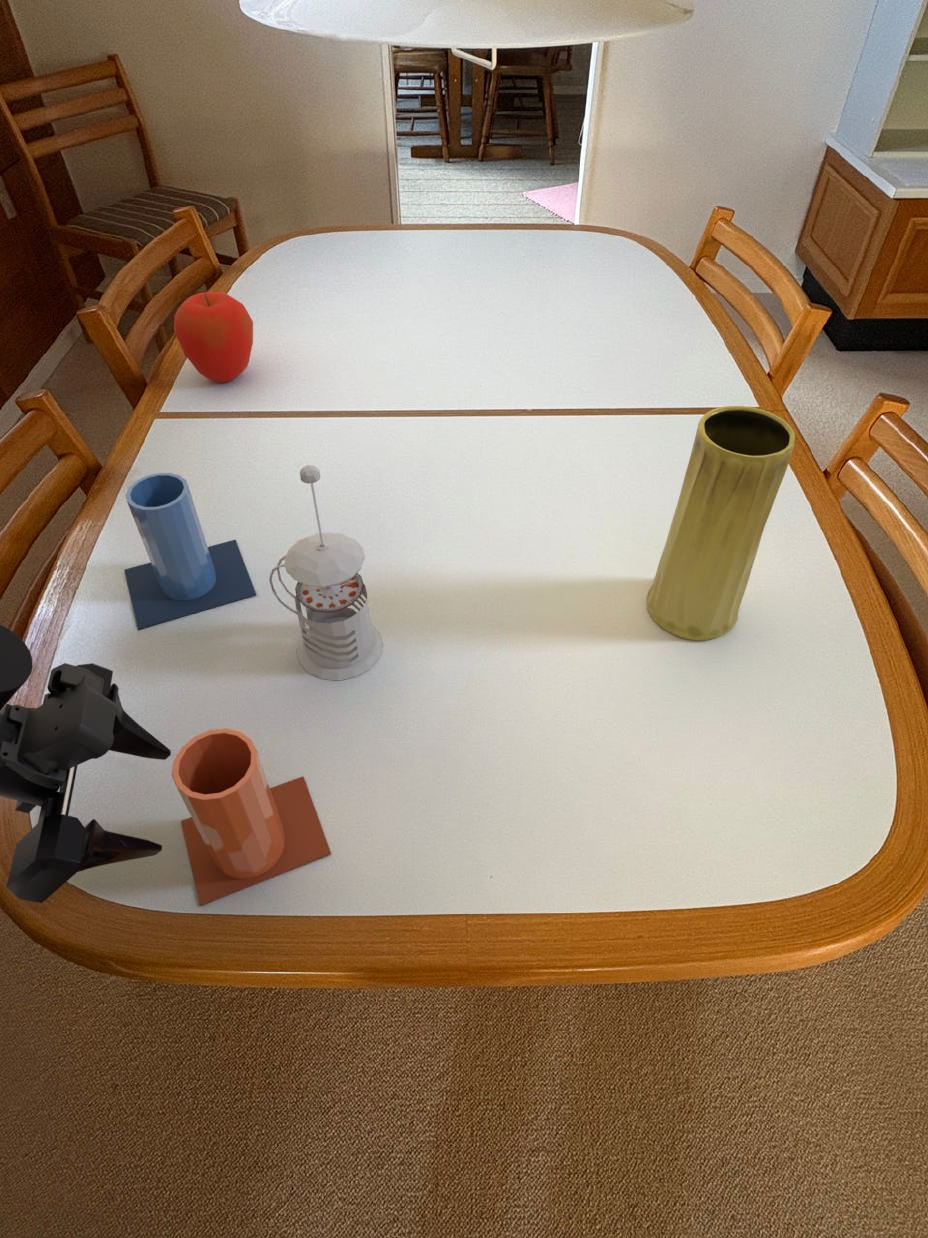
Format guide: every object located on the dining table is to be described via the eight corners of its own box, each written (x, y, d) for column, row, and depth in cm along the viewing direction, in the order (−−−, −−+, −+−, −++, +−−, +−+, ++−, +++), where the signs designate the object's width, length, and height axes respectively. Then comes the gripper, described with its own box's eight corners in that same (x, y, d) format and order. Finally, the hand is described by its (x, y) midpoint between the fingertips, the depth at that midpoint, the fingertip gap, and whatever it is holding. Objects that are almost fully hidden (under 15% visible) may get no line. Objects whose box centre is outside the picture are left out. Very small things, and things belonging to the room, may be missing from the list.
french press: (362, 690, 86) (335, 510, 67) (266, 664, 88) (215, 484, 70) (395, 627, 92) (379, 447, 74) (306, 604, 94) (268, 425, 76)
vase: (755, 614, 93) (827, 436, 75) (695, 656, 89) (755, 477, 71) (687, 565, 99) (738, 388, 81) (627, 602, 95) (667, 424, 76)
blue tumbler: (166, 607, 94) (130, 516, 84) (157, 572, 98) (121, 481, 88) (221, 591, 96) (193, 500, 85) (210, 557, 100) (181, 466, 89)
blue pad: (138, 630, 92) (137, 628, 91) (124, 570, 98) (124, 569, 98) (256, 595, 95) (256, 594, 95) (235, 540, 102) (235, 539, 102)
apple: (270, 387, 128) (253, 302, 118) (195, 402, 125) (172, 316, 115) (253, 351, 136) (236, 269, 125) (183, 365, 133) (160, 282, 122)
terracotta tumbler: (200, 869, 71) (156, 788, 61) (232, 806, 76) (196, 721, 65) (267, 887, 70) (234, 807, 60) (296, 822, 75) (270, 737, 64)
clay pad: (200, 906, 69) (200, 905, 69) (181, 821, 75) (181, 820, 75) (331, 854, 73) (331, 853, 72) (303, 777, 78) (303, 776, 78)
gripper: (-14, 807, 48) (213, 861, 57) (43, 592, 60) (222, 666, 70) (-88, 884, 52) (133, 923, 62) (-20, 670, 65) (155, 729, 74)
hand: (164, 800), depth 67 cm, fingers open, 9 cm apart
